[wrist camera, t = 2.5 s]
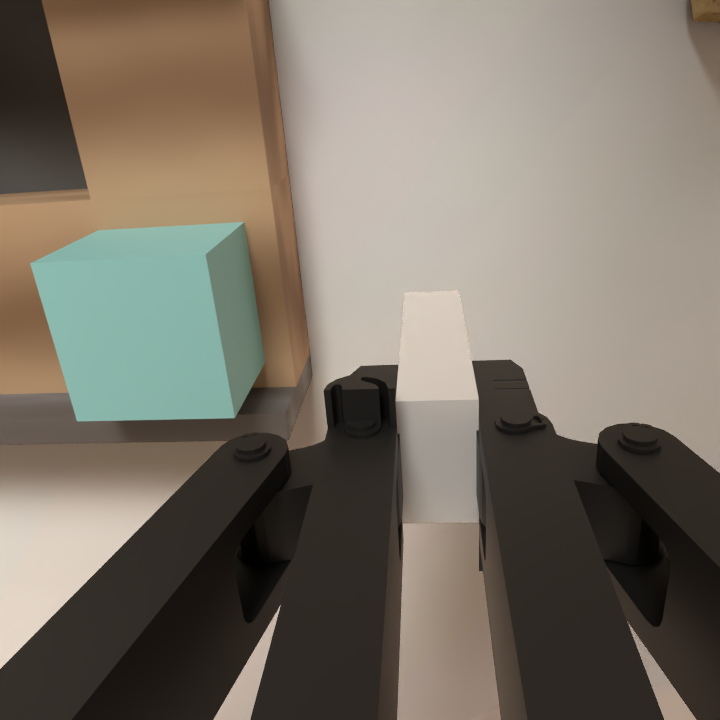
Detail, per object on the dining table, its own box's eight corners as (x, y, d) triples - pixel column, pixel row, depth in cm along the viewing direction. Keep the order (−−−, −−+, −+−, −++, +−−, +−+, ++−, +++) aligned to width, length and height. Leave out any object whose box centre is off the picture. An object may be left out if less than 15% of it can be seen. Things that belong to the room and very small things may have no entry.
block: (98, 230, 21) (30, 263, 17) (244, 221, 20) (205, 254, 17) (131, 366, 23) (76, 421, 19) (265, 362, 22) (234, 418, 19)
